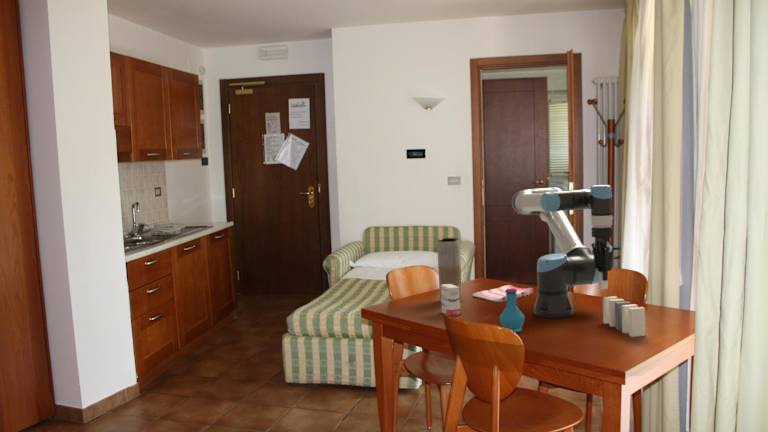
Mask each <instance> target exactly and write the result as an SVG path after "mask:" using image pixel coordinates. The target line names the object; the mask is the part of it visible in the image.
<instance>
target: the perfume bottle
mask: <svg viewBox="0 0 768 432" xmlns="http://www.w3.org/2000/svg"><path fill="white" fill-rule="evenodd" d="M505 292H506V298H507V301H506V307H505V308H504V310H503V311H502V312H501V314H500V316H499V318H498V319H499V321H500V324H501V326H502V327H503V328H504V327H506V328H509V329H512V330H513V331H514V332H513V333H517V332H521V331H522V328H523V327H524V323H525V319H526V316H525V315H524V313H523V312H522V311H521V310H520V309H519V307H518V306H517V298H516V294H517V293H516V292H517V290H516V289H512V288H511V289H506V290H505Z"/></svg>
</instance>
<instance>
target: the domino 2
mask: <svg viewBox="0 0 768 432" xmlns="http://www.w3.org/2000/svg"><path fill="white" fill-rule="evenodd" d="M630 304H632V303H631V301H624V302H615V330H617V331H622V305H630Z"/></svg>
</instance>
